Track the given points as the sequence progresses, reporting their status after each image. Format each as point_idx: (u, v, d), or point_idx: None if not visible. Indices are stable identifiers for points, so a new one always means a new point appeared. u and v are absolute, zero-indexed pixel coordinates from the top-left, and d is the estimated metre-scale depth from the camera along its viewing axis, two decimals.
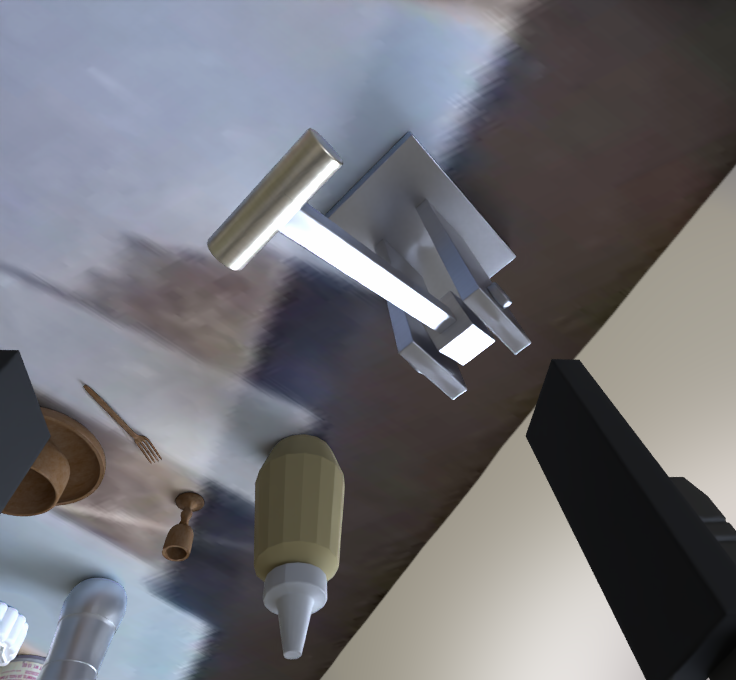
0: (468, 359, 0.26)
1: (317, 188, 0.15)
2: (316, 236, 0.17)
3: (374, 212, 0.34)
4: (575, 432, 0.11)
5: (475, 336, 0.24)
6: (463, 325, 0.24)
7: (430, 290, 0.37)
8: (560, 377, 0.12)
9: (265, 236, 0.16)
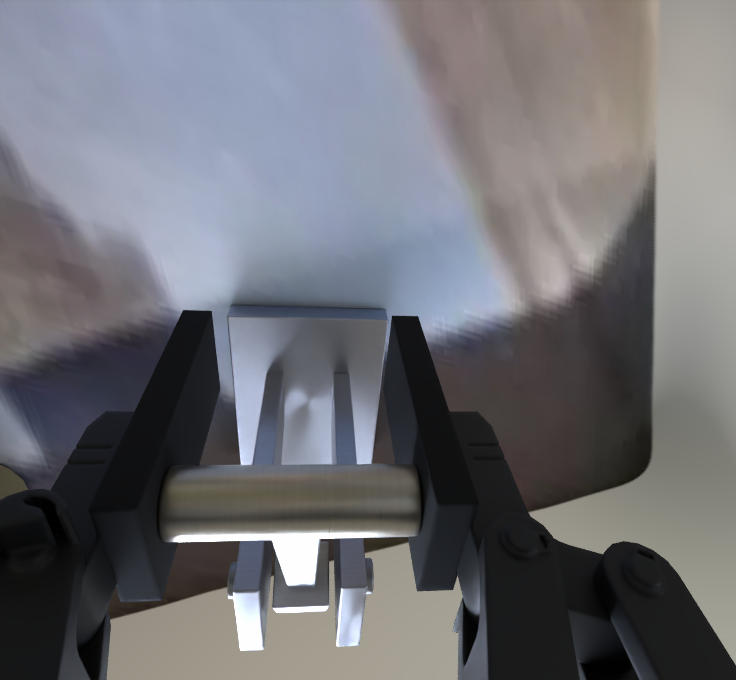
0: (287, 612, 0.21)
1: None
2: (299, 542, 0.11)
3: (296, 347, 0.28)
4: (398, 377, 0.13)
5: (317, 608, 0.20)
6: (317, 599, 0.19)
7: None
8: (394, 330, 0.13)
9: None
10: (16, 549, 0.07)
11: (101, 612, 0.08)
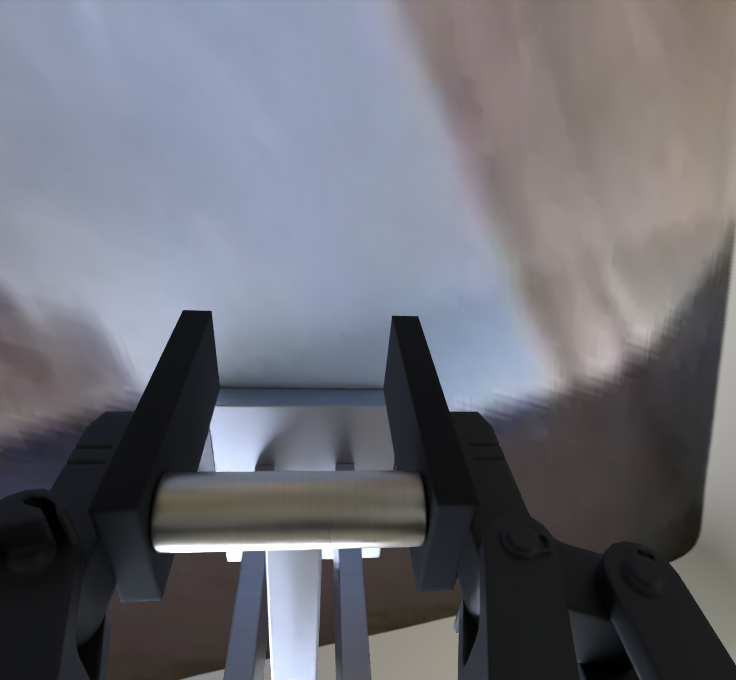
0: None
1: (368, 547, 0.09)
2: (297, 588, 0.10)
3: (291, 437, 0.23)
4: (398, 377, 0.13)
5: None
6: None
7: None
8: (394, 330, 0.13)
9: (247, 546, 0.09)
10: (16, 549, 0.07)
11: (101, 612, 0.08)
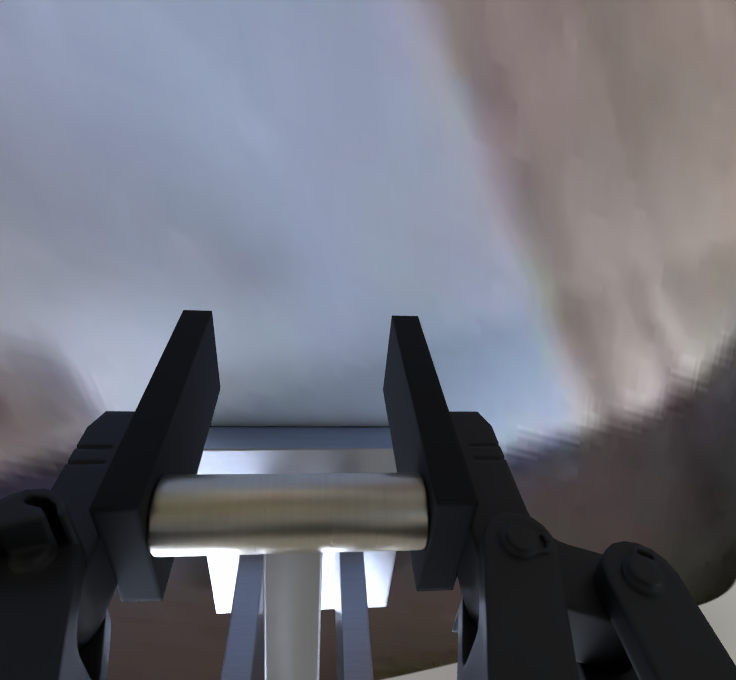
0: None
1: (370, 549, 0.09)
2: (295, 608, 0.09)
3: None
4: (398, 377, 0.13)
5: None
6: None
7: None
8: (394, 330, 0.13)
9: (245, 544, 0.09)
10: (18, 549, 0.07)
11: (101, 612, 0.08)
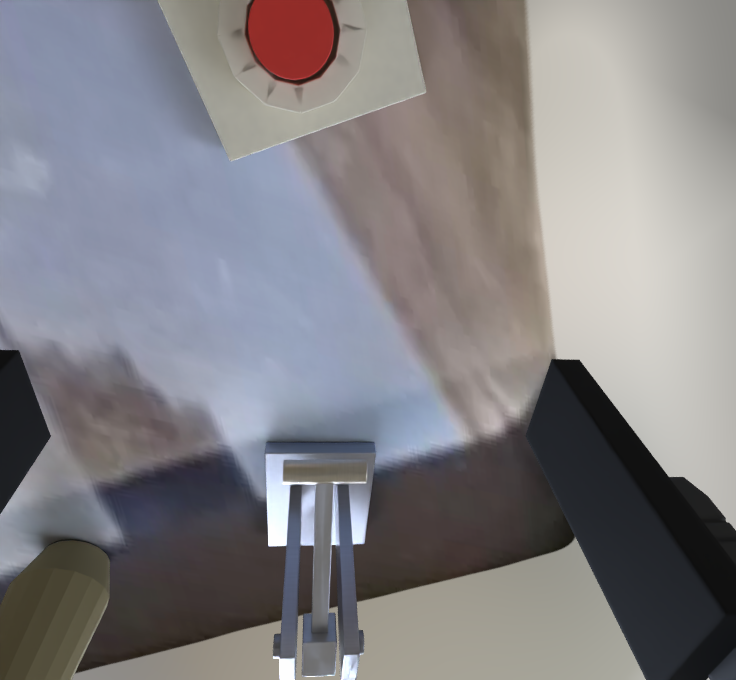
0: (309, 674, 0.32)
1: (349, 482, 0.29)
2: (325, 502, 0.30)
3: None
4: (575, 432, 0.11)
5: (329, 655, 0.32)
6: (329, 638, 0.32)
7: None
8: (560, 377, 0.12)
9: (311, 480, 0.29)
10: None
11: None
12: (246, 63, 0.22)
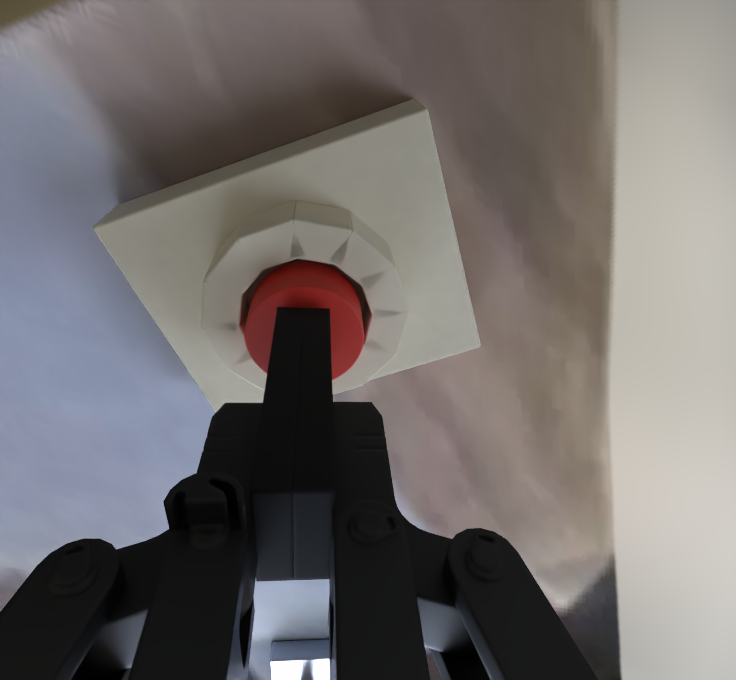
0: None
1: None
2: None
3: (325, 672, 0.35)
4: None
5: None
6: None
7: None
8: None
9: None
10: (198, 524, 0.08)
11: (253, 589, 0.09)
12: (242, 355, 0.16)
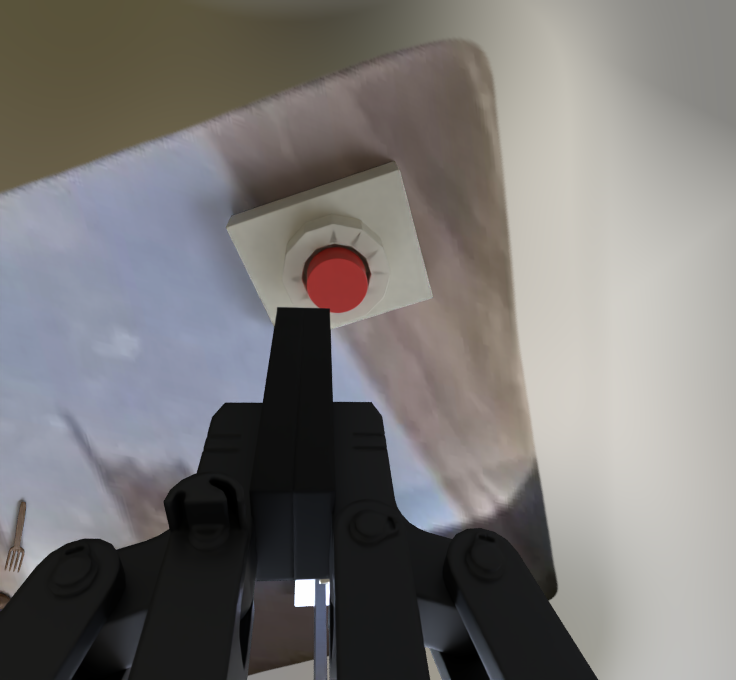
0: None
1: None
2: None
3: None
4: None
5: None
6: None
7: None
8: None
9: None
10: (198, 525, 0.08)
11: (253, 589, 0.09)
12: (301, 295, 0.30)
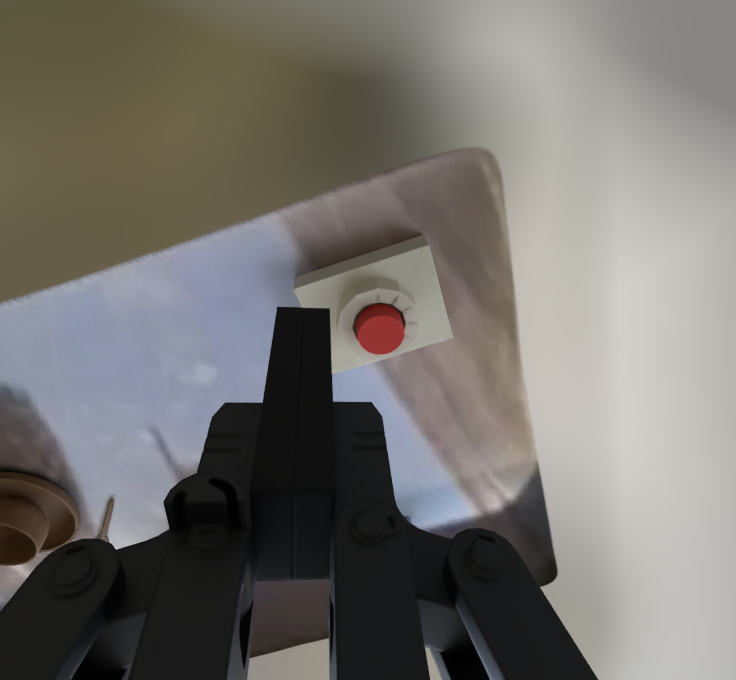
0: None
1: None
2: None
3: None
4: None
5: None
6: None
7: None
8: None
9: None
10: (198, 524, 0.08)
11: (252, 589, 0.09)
12: (351, 340, 0.39)
